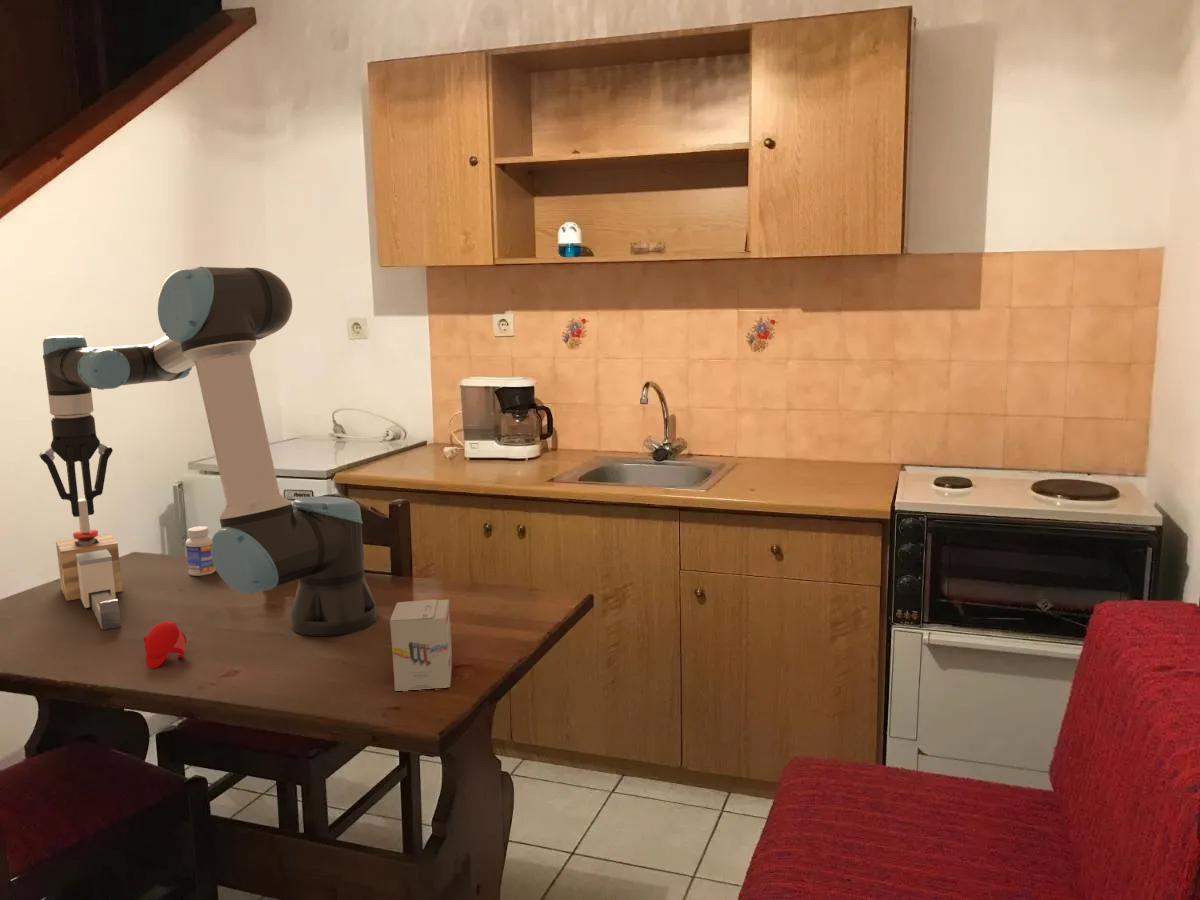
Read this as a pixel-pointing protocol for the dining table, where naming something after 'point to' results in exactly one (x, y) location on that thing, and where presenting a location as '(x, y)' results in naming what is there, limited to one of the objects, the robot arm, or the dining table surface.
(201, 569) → the pill bottle
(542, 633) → the dining table surface
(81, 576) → the block
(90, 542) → the red push button
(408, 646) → the ink box
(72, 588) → the wooden red button box
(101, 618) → the rail
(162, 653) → the cap
